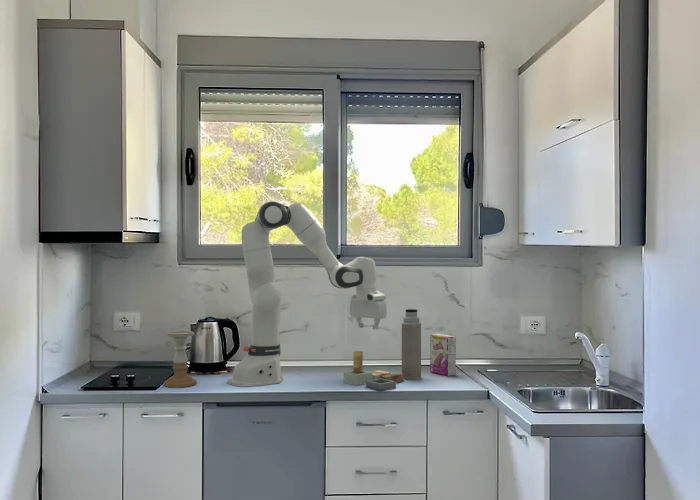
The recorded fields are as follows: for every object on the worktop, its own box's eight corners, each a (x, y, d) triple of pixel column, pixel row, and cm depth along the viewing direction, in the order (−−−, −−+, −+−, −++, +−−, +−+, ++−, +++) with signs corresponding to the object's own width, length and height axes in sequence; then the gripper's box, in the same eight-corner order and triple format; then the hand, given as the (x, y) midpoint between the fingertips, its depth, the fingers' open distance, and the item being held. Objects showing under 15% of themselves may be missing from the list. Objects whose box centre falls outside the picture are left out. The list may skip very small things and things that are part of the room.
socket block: (357, 385, 238) (357, 375, 238) (343, 382, 245) (343, 372, 245) (372, 382, 244) (372, 372, 244) (358, 379, 250) (358, 369, 250)
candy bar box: (429, 372, 265) (429, 334, 265) (438, 371, 268) (438, 333, 268) (447, 376, 256) (447, 336, 256) (456, 375, 259) (456, 336, 259)
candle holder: (203, 383, 243) (203, 331, 243) (182, 389, 232) (182, 335, 232) (178, 380, 248) (178, 330, 248) (156, 386, 237) (156, 333, 237)
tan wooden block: (374, 383, 245) (374, 375, 245) (362, 380, 250) (362, 372, 250) (390, 379, 251) (390, 372, 251) (378, 377, 256) (378, 370, 256)
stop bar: (385, 384, 239) (385, 377, 239) (380, 383, 242) (380, 376, 242) (403, 381, 246) (403, 373, 246) (398, 380, 248) (398, 372, 248)
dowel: (357, 383, 242) (357, 353, 242) (351, 382, 244) (351, 351, 244) (364, 382, 244) (364, 352, 244) (358, 381, 247) (358, 351, 247)
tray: (380, 391, 229) (380, 384, 229) (365, 387, 235) (365, 380, 235) (395, 388, 234) (395, 381, 234) (381, 384, 240) (381, 378, 240)
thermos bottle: (397, 378, 253) (397, 309, 253) (407, 374, 259) (407, 308, 260) (415, 380, 248) (415, 310, 248) (424, 377, 255) (424, 309, 255)
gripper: (345, 295, 264) (346, 327, 264) (376, 296, 248) (378, 331, 248) (356, 293, 268) (358, 325, 268) (388, 295, 252) (389, 329, 252)
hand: (368, 328), depth 258 cm, fingers open, 8 cm apart
